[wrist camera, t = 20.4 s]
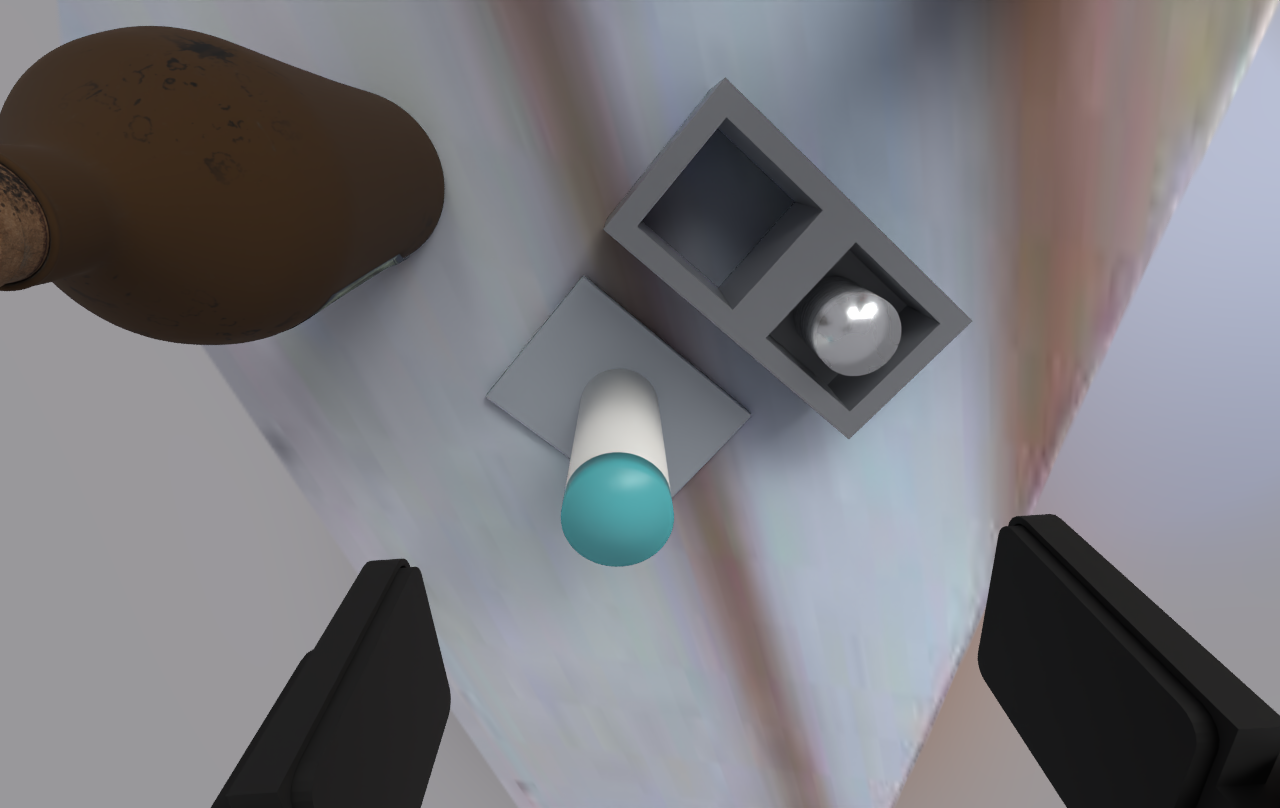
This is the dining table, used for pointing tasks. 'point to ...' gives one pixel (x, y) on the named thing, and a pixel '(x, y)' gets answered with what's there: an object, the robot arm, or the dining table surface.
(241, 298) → the olive oil
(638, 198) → the housing
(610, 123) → the dining table surface
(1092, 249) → the dining table surface
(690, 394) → the mat
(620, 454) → the cylinder
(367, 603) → the robot arm
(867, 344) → the silver metallic cylinder
